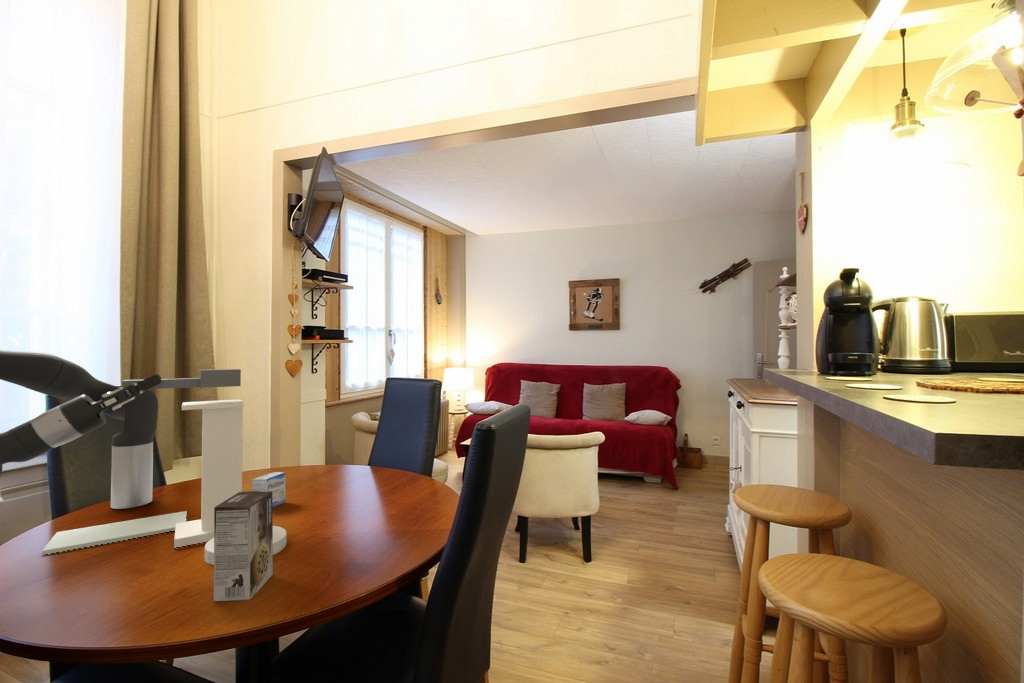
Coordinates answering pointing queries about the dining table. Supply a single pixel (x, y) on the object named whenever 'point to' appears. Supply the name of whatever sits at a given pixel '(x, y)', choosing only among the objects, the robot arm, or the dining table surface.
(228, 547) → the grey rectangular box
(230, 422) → the white flanged bar
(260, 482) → the medicine box
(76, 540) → the mat
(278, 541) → the roll of tape
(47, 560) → the dining table surface
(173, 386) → the gray flanged block
